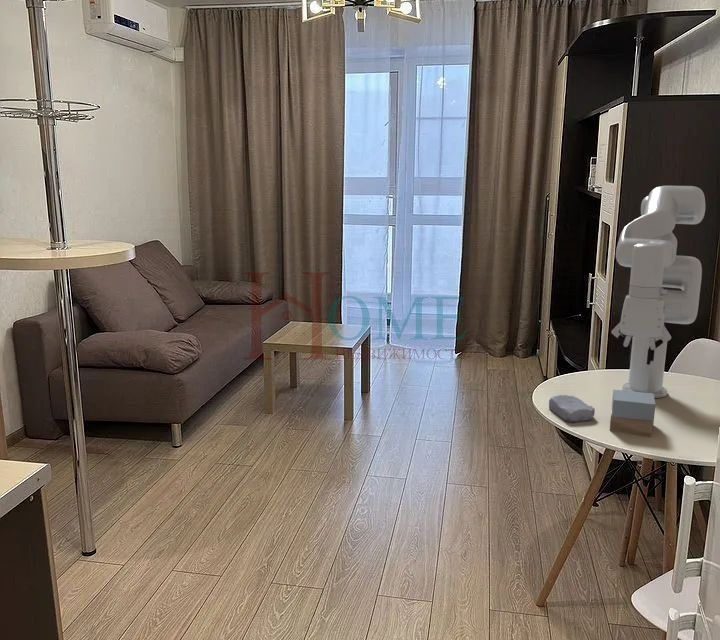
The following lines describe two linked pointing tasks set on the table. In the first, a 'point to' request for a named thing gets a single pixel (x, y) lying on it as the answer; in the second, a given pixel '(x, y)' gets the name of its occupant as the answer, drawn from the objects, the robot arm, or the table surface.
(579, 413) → the stone block
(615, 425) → the tower base
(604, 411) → the table surface
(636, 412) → the tower top
